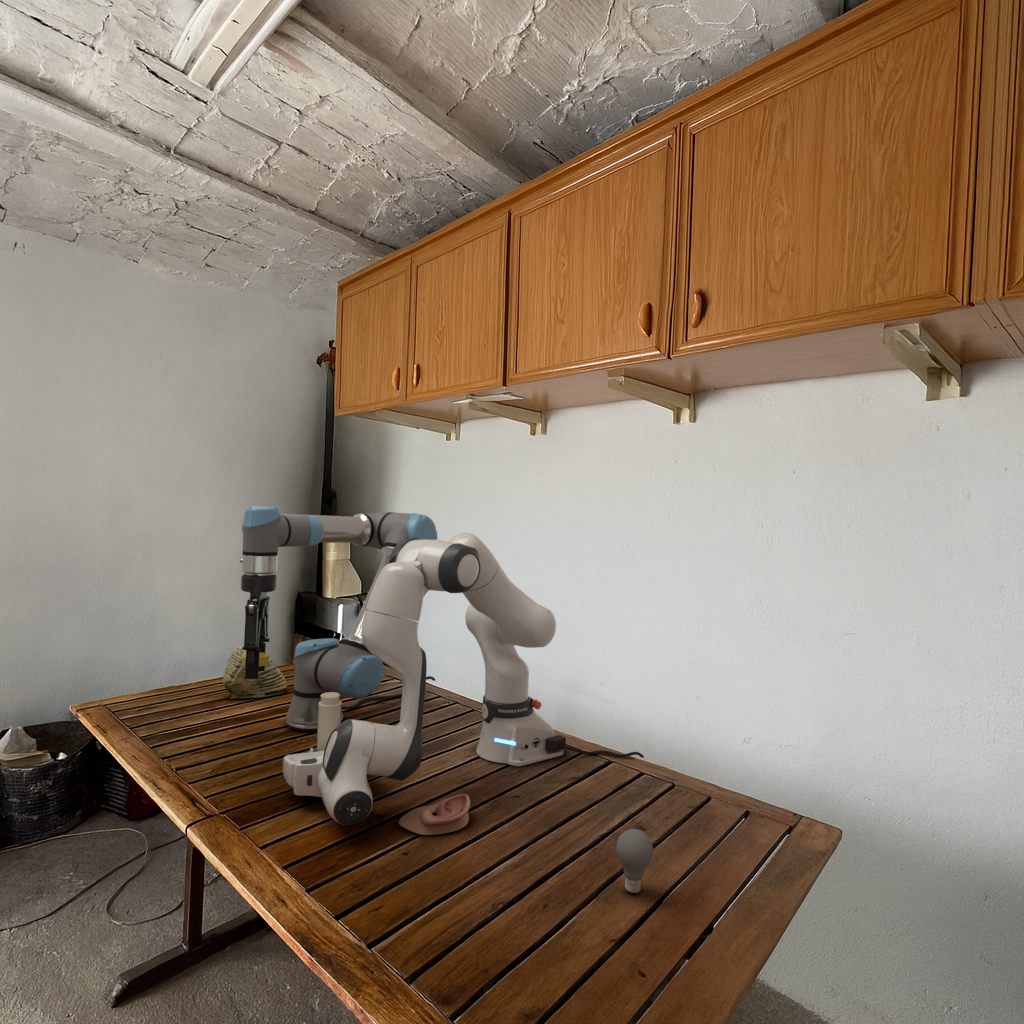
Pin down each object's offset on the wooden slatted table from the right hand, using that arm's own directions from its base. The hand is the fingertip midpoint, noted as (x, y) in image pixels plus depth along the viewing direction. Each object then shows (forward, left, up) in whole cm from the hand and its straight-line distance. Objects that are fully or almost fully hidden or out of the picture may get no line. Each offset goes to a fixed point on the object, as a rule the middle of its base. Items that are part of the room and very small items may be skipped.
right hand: (327, 748), depth 143 cm
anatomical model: (-17, +28, -6) cm, 33 cm away
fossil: (+12, -66, -6) cm, 67 cm away
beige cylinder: (0, +1, -6) cm, 6 cm away
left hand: (+15, -9, +16) cm, 24 cm away
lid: (+15, -9, +20) cm, 27 cm away
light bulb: (-40, +61, -6) cm, 73 cm away
